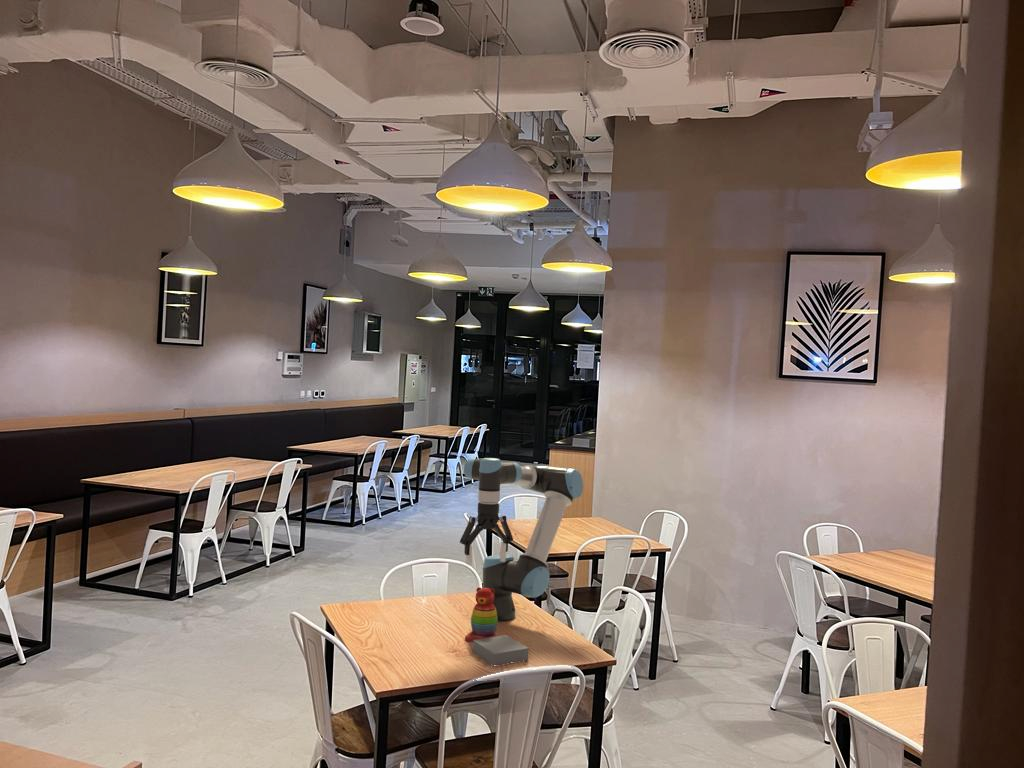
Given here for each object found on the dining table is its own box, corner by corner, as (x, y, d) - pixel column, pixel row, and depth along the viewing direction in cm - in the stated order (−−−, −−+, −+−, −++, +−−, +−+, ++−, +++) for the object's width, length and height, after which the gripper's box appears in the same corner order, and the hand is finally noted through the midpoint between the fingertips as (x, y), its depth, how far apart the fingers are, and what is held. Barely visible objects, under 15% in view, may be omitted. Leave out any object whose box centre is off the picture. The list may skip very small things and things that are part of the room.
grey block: (506, 646, 247) (506, 634, 247) (528, 660, 235) (528, 648, 235) (472, 652, 240) (473, 640, 240) (493, 666, 228) (494, 653, 228)
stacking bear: (463, 640, 251) (465, 589, 251) (474, 632, 260) (476, 582, 260) (491, 646, 247) (494, 593, 247) (502, 637, 256) (504, 586, 257)
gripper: (513, 499, 264) (510, 557, 263) (452, 502, 251) (449, 563, 251) (524, 502, 257) (521, 562, 257) (461, 505, 245) (458, 568, 244)
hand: (485, 562), depth 254 cm, fingers open, 13 cm apart
